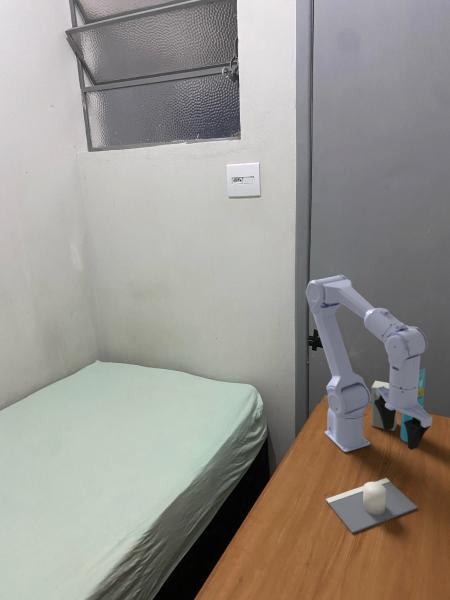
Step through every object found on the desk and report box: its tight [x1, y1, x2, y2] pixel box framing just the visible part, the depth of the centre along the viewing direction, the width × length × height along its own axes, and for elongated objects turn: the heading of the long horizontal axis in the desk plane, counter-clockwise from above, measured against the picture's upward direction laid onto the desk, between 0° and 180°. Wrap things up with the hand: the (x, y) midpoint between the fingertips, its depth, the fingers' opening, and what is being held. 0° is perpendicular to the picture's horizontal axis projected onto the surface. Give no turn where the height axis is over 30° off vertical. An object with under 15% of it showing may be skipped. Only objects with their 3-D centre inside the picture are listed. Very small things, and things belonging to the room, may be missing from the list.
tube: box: [399, 367, 426, 444], centre depth 104 cm, size 7×5×19 cm, turn 123°
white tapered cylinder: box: [363, 481, 386, 515], centre depth 85 cm, size 4×4×4 cm
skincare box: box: [370, 380, 398, 432], centre depth 112 cm, size 6×4×12 cm
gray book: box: [325, 477, 418, 534], centre depth 87 cm, size 10×16×1 cm, turn 109°
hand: (400, 438), depth 91 cm, fingers open, 7 cm apart
